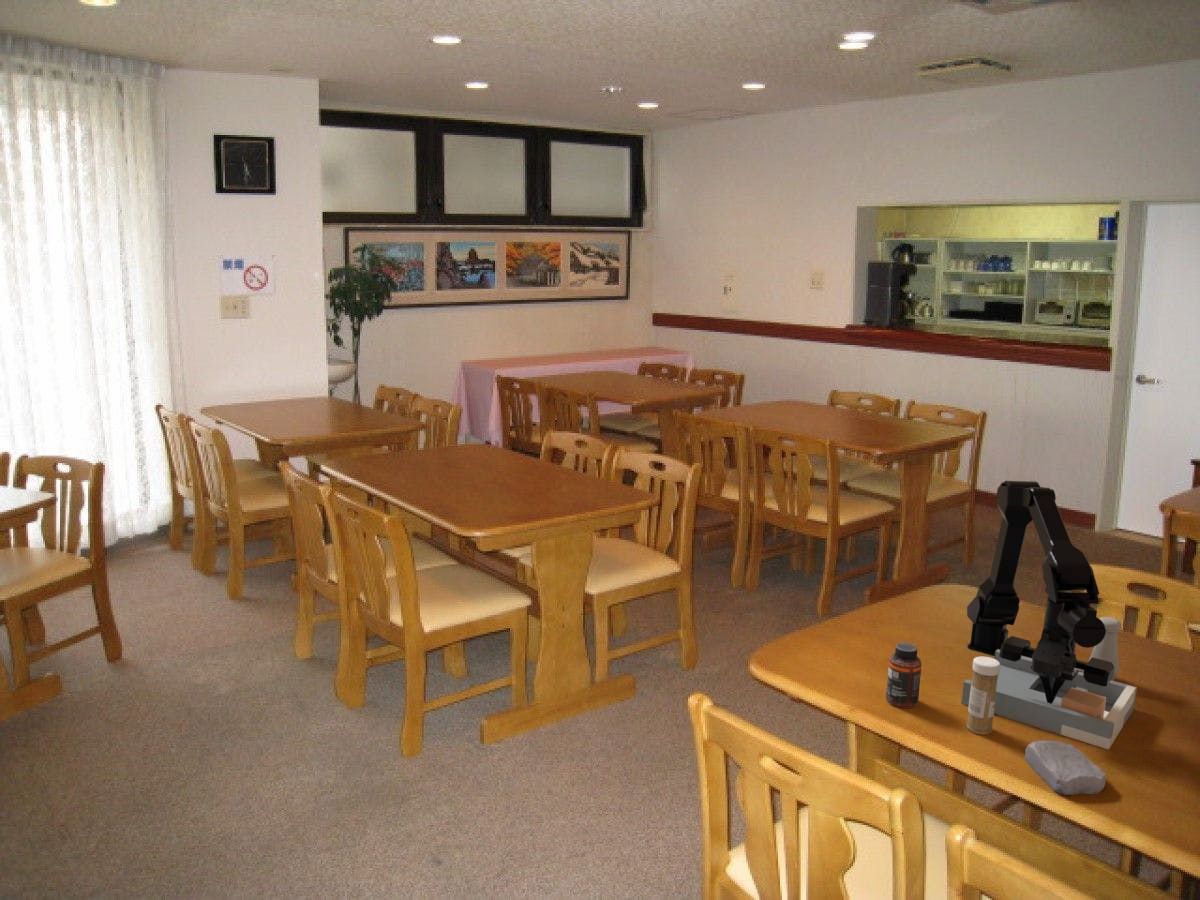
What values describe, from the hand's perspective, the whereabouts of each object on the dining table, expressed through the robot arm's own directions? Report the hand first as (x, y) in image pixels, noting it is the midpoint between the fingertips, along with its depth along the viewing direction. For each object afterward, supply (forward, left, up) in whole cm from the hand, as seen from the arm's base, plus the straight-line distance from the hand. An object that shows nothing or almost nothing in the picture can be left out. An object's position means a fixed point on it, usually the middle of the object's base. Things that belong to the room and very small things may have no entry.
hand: (1050, 702), depth 189 cm
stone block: (+8, -20, -3) cm, 22 cm away
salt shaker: (+4, +24, -3) cm, 25 cm away
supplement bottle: (-23, -13, -3) cm, 27 cm away
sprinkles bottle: (-8, -14, -3) cm, 16 cm away
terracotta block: (+6, -1, -1) cm, 6 cm away
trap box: (-1, +4, -3) cm, 5 cm away
